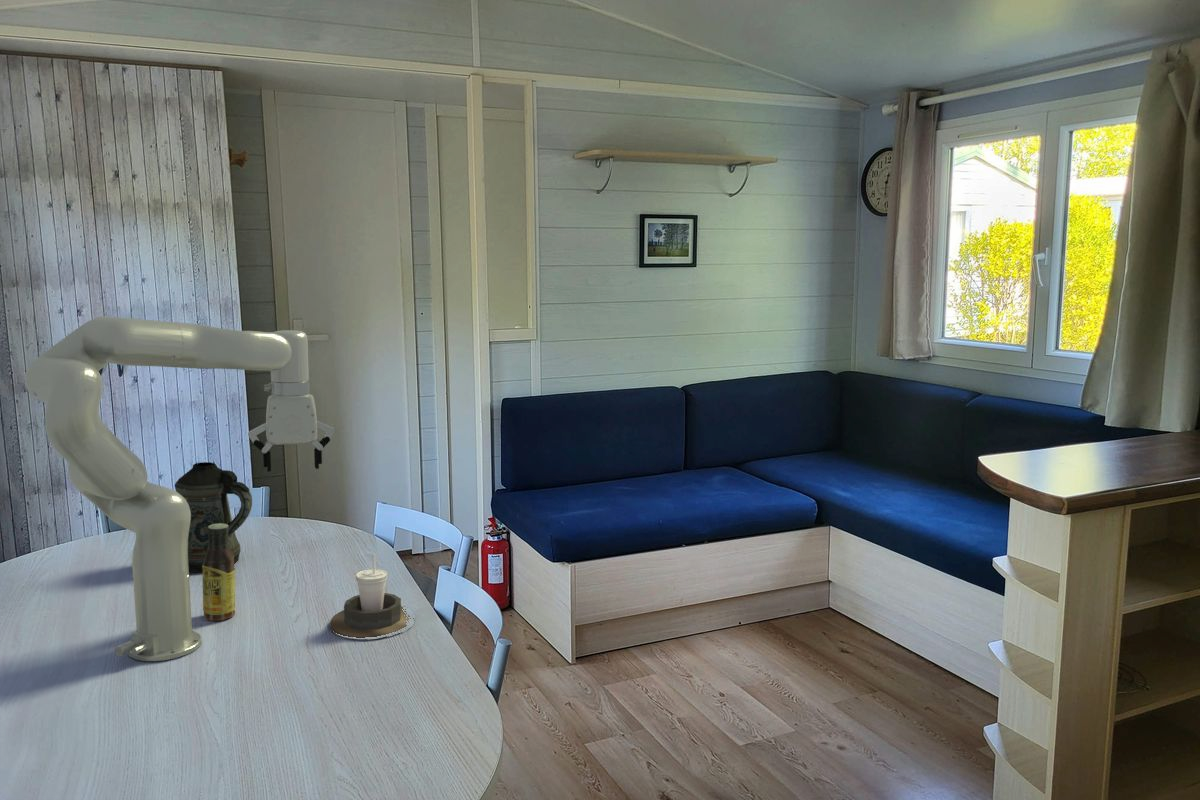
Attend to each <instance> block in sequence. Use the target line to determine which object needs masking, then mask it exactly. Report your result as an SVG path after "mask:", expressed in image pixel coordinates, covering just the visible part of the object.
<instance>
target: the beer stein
mask: <svg viewBox="0 0 1200 800" xmlns="http://www.w3.org/2000/svg"><path fill="white" fill-rule="evenodd" d="M174 488H175V491H176V492H177V493H179V494H180V495H181V496H183V497H184V499H185V500H186V501H187V503H188V505H189V508H190V512H191V521H190V528H189V535H188V566H189V574H202V565H203V562H204V558H205V555H206V552H207V549H208V544H209V535H208V533H207V530H208V526H210V525H212V524H219V523H222V524H227V525H228V526H229V532H228V546H229V549H230V550H231V552H232V553H233V555H234V564H235V563H236V562H237V561H238V560H239V559H240V553H241V545H240V542H239V541H238V539H237V536H236V531H237V530H238V529H239V528H240V527H241V526H242V525H243V524H244V523H245V522H246V520H247V518H249V516H250V514H251V510H252V507H253V496H252V492H250V488H249V487H248V486H247V485H246V484H245V483H244V482H241V481H238V476H237V475H236V474H235V472H234V471H232V470H225V469H221V468H219V467H218V466H217V464H216V463H215V462H206V461H204V462H196V463H194V464H193V465H192V467H191V469H189V470H188V471H187V472H185V473H184V474H183V475H182V476H181V477H180V478H178V479H177V481H176V482H175V483H174ZM228 495H235V496H236V497H238V498H239V501H240V508H239V510H238V512H237V514H236V516H234V518H233V517H232V514H231V508H230V503H229V497H228ZM238 562H239V561H238ZM238 562H237V563H238ZM237 563H236V564H237ZM236 564H235V565H236Z"/></svg>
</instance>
